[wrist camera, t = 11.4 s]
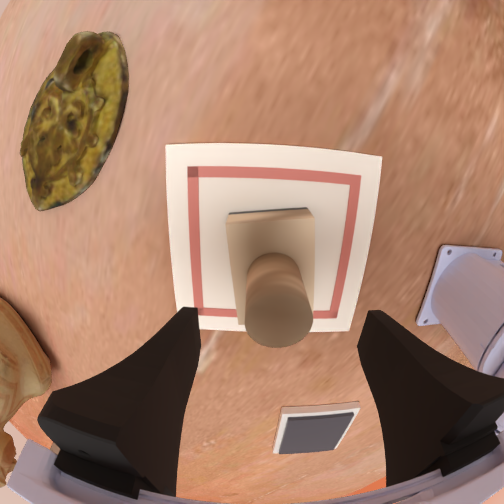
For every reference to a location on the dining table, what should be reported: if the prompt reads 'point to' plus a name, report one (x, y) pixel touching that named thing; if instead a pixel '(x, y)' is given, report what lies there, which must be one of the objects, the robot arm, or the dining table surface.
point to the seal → (74, 119)
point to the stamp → (273, 273)
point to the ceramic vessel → (17, 377)
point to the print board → (264, 198)
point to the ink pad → (313, 427)
